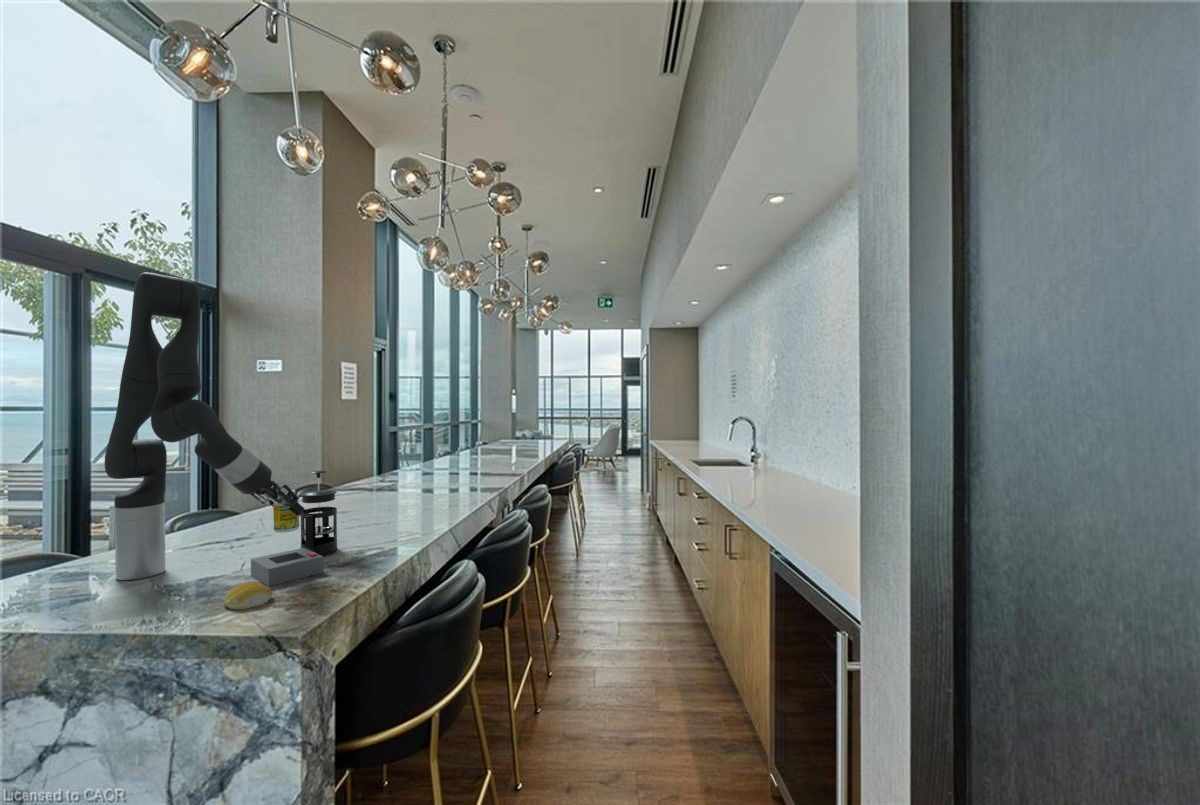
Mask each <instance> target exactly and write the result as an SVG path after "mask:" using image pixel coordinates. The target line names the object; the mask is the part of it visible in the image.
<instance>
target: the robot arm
mask: <svg viewBox="0 0 1200 805" xmlns="http://www.w3.org/2000/svg"><path fill="white" fill-rule="evenodd" d="M132 298H133V299H132V308H131V319H130V330H129V338H128V345H127V348H126V352H125V353H126V354H125V359H124V363H123V367H122V372H121V377H120V384H119V393H118V400H117V406H116V411H115V416H114V422H113V425H112V429H111V432H110V435H109V439H108V442H107V447H106V450H105V455H104V471H105V473H106V475H107V476H108V477H109V478H111V479H114V480H122V479H123V480H124V479H133V478H134V479H135V478H143V479H142V481H141V482H140V483H139V484H137V485H136V486H134V487H132V488H130V489H128V490H125V491H122V492H121V493H119V494H116V495H115V497H114V502H113V504H114V538H115V539H114V540H115V541H114V545H115V546H114V548H115V550H114V551H115V553H114V555H115V560H114V561H115V564H114V565H115V568H114V569H115V579H116V580H117V579H118V580H117V581H132V580H133V579H134V580H139V579H145V578H150V577H153V576H157V575H160V574H162V573H164V572H165V571H166V518H165V517H166V514H165V513H166V510H165V509H166V508H165V504H166V502H165V501H166V499H165V497H166V496H165V494H166V480H167V465H168V462H167V461H168V460H167V458H168V457H167V456H168V455H167V448H166V445H165V443H164V442H167V443H177V442H181V441H183V440H186V439H188V438H191V437H193V436H195V435H200V436H201V437H202V438H201V439H199V441H198V442H197V443H196V445H195V446H194V452H195V455H196V456H197V457H199V459H200V460H202V461H203V462H204V463H205V464H207V465H208V466H210V467H211V468H212V469H213V470H214V471H215V472H216V473H217V474H218V475H219V476H220V477H221V478H222V479H224V480H225V481H226V482H228V484H230V485H231V486H232V487H234V488H235V489H236V490H238V491H239V492H240V493H242V494H244V495H250V496H251V497H252V498H254V499H256V500H257V501H258V502H260V503H261V504H262V505H263V504H264V505H265V504H266V505H268V506H270V507H272V508H273V504H274V502H275V503H276V504H279V503H281V504H282V505H284V506H285V507H286V508H288V509H289V510H291V511H292V512H293V513H294V514H295V515H297V516H299V517H300V515H301V514H302V513H303V512H304V510H305V509H306V508H305V507H303V505H301V504H300V503H298V502H297V501H299V500H300V497H299V496H298V495H297V494H296V492H295V493H294V492H293V491H292V490H293V489H291V488H290V486H288V485H287V484H283V485H282V486H281V485H280V484H279V482H277V481H275V480H272V475H273V472H272V469H271V468H270V467H269V466H267V465H266V464H265V463H264V462H263V461H262V460H260V459H259V458H258V457H257V456H256V455H255V454H254V453H253V452H251V451H250V450H249V449H247V448H245V447H244V446H242V445H241V444H240V443H239V442H238V441H237V440H236V439H234V438H233V437H232V436H231V434H229V433H228V431H227V430H226V428H225V426H224V425H223V423H222V422H221V420H220V419H219V417H218V415H217V414H216V412H215V410H214V409H213V407H211V405H209V404H208V403H207V402H205V401H203V400H200V399H196V398H195V397H197V396H198V395H199V393H200V392H201V389H202V387H201V386H202V383H201V377H200V369H199V368H200V367H199V357H198V354H199V353H198V352H199V351H198V349H199V337H200V336H199V335H200V316H201V294H200V290H199V287H198V284H197V283H196V282H194V281H192V280H189V279H185V278H180V277H175V276H170V275H164V274H158V273H154V272H146V271H145V272H142V273H140V274H139V275H138V276H137V278H136V281H135V285H134V290H133V297H132ZM153 316H156V317H164V318H171V319H176V320H181V322H180V326H179V329H178V331H177V332H176V334H175V335H173V337H172V338H171V339H170V340H169V342H168V343H167V344H165V346H164V347H163V346H162V345H161V344H160V342H159V340H158V337H157V336H156V334H155V332H154V329H153V323H152V320H153V319H152V318H153ZM149 419H150V425H151V428H152V431H153V433H154V434H155V435H156V436H157V438H143V439H135V437H136V434H137V433H138V431H139V429H140V428H141V427H142V426H143V424H144V423H145V422H147V420H149ZM158 438H159V439H158ZM163 441H164V442H163ZM278 496H279V497H280V498H279V499H278V498H277V497H278Z"/></svg>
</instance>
